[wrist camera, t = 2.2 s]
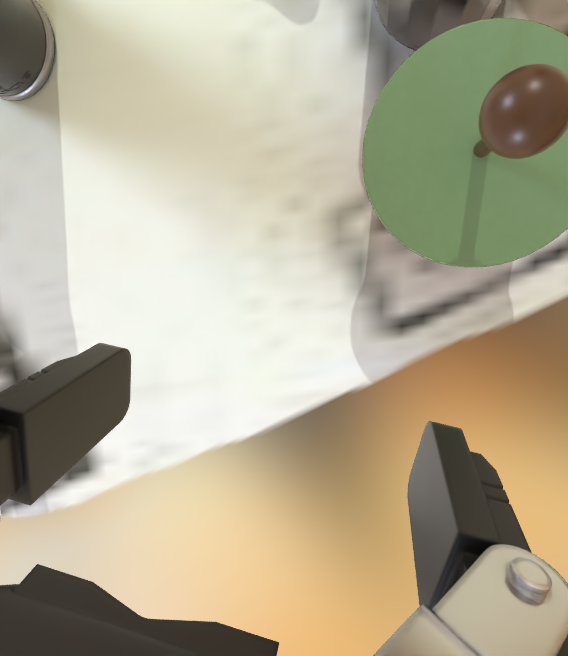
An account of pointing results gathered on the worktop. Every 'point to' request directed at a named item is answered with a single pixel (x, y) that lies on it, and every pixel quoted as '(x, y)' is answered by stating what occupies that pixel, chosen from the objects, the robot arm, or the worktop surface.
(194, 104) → the worktop surface
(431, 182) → the lid
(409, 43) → the cup
